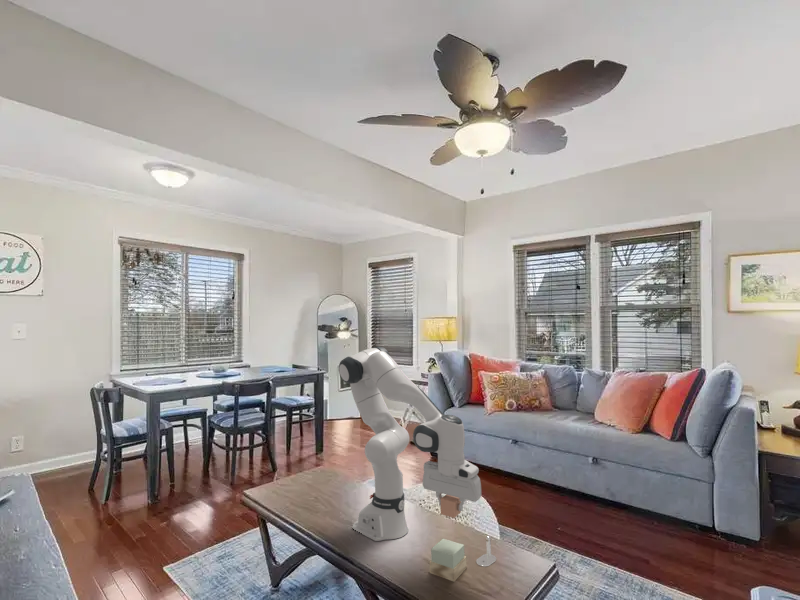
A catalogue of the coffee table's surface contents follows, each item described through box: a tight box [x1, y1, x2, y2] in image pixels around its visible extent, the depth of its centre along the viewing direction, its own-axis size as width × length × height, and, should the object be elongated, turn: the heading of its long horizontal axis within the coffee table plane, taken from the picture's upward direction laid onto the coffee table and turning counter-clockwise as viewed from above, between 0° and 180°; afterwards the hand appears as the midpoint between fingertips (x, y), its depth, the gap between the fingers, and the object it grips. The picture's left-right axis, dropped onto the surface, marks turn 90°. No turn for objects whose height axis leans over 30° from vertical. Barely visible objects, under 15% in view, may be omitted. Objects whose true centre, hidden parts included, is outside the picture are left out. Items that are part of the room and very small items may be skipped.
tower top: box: [430, 538, 466, 569], centre depth 144 cm, size 8×8×4 cm
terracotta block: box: [440, 494, 462, 519], centre depth 145 cm, size 5×5×5 cm
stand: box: [475, 535, 497, 567], centre depth 149 cm, size 8×5×8 cm
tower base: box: [428, 555, 468, 582], centre depth 144 cm, size 9×9×4 cm
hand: (450, 507), depth 145 cm, fingers closed on terracotta block, 5 cm apart
